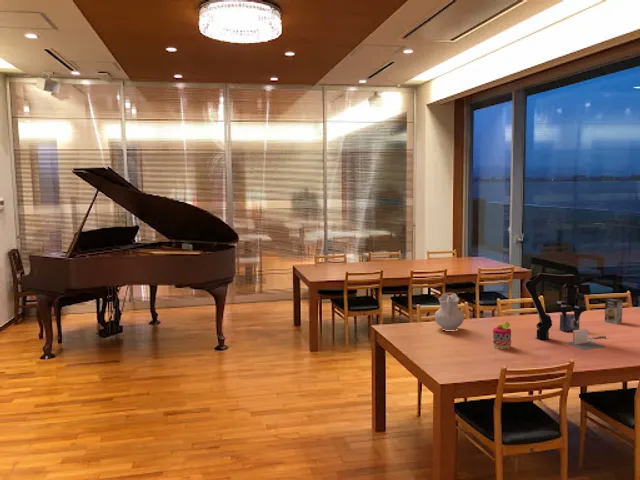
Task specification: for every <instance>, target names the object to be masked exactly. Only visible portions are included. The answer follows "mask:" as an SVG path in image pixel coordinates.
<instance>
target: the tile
mask: <svg viewBox="0 0 640 480" xmlns="http://www.w3.org/2000/svg"><path fill="white" fill-rule="evenodd" d="M588 330H589V329H587V328H581V329H580V328H579V330H573V332H572V342H573V344H581V343H587V338H588V336H589V335H588Z"/></svg>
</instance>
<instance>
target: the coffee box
mask: <svg viewBox="0 0 640 480" xmlns="http://www.w3.org/2000/svg"><path fill="white" fill-rule="evenodd" d="M623 304H624V302H623V300H622V299H617V298H605V299H604V322H605V323H610V324H613V325H618V324H623Z"/></svg>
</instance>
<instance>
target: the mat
mask: <svg viewBox="0 0 640 480" xmlns="http://www.w3.org/2000/svg"><path fill="white" fill-rule="evenodd" d="M565 344H567V345H569V346H572V347H575V348H578V349H581V350H583V351H587V350H593V349H594V350H595V349H602V348H607V346H606V345H603V344H599V343H597V342H593V341H588V340H587V343H581V344H573V341H568V342H565Z"/></svg>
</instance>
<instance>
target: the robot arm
mask: <svg viewBox="0 0 640 480" xmlns="http://www.w3.org/2000/svg"><path fill="white" fill-rule="evenodd" d="M542 280H543V281H553V282H561V283H565V284H564V285H562V287H563V288H564V289H566V290H565V293H566V295H565V296H564V298H565V300H557V302H556V305H555V306H557V308H558V309H559V310H560V312H561V314H563V317H564V318H566V314H568V313H567V311H568V308H572V309H573V314H574V316H575V321H578V319H579V317H581V315H582V313H584V312H586V311H587V306H585V305H584V304H585V301H584V300H582V299H579V297H578V295H579V296H591V293H592V291H591V287H590V284H589V283H584V284H582V283H580V281H579V278H578V277H577V276H576V275H574V274H572V273H568V274H567V273H566V274H554V273H545V272H544V273H543V272H538V273H536V274H535V275H533V276H531V277H530V278H528V279H527V278H526V279H525V280H523V284H522V285H523V287H524V288H525V290H526V291H527V292H528V294H529V297H530V298H531V300H532V303H533V304H534V307H535V309H536V312H537V315H538V320H539V322H538V323H537V324H535V326H536V328H537V329H536V337H535V340H539V341H540V342H541V341H542V342H543V341H550V340H551V339H550V338H549V337H550V332H549V330H550V328H552V326H553V323H554V322H553V321H552V317H551V315H550V314H548V313H546V312H545V309H544V307H543V305H542V302H541V300H540V298H539V296H538V294H537V293H538V292H537V287H536V286H537V285H539V284H540V283H541V281H542ZM577 294H578V295H577Z"/></svg>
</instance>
